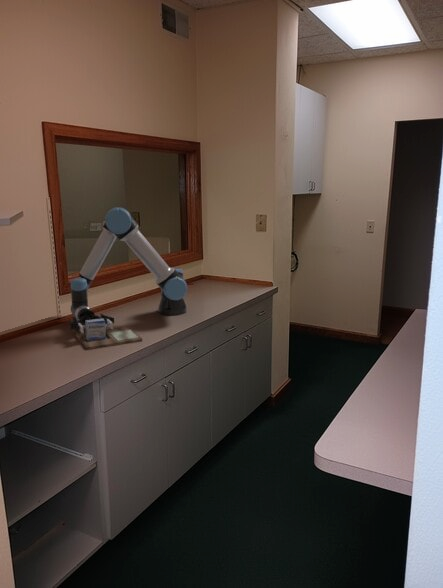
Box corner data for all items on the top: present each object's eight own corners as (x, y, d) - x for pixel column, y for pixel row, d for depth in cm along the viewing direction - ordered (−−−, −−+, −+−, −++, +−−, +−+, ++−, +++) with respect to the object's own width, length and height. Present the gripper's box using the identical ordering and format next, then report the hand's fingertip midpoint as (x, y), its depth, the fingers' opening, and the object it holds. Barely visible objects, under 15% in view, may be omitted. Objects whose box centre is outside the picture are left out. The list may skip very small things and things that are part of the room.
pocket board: (127, 328, 221) (127, 326, 221) (142, 340, 204) (142, 338, 204) (75, 335, 209) (75, 333, 209) (86, 349, 193) (86, 347, 192)
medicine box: (88, 341, 202) (86, 322, 200) (85, 338, 206) (84, 319, 204) (106, 339, 206) (105, 320, 204) (103, 336, 210) (102, 317, 208)
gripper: (110, 319, 227) (125, 332, 208) (59, 326, 215) (69, 340, 197) (110, 304, 225) (124, 316, 207) (57, 311, 213) (68, 323, 195)
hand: (97, 327), depth 202 cm, fingers open, 12 cm apart
